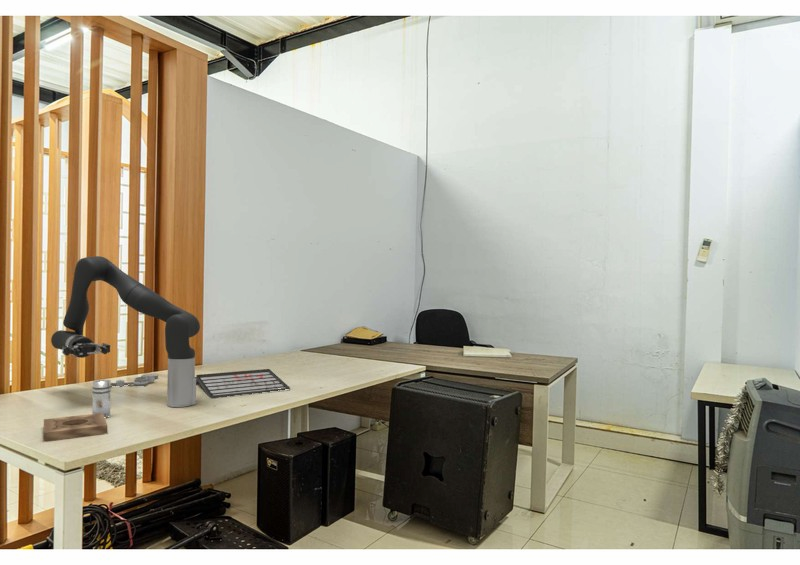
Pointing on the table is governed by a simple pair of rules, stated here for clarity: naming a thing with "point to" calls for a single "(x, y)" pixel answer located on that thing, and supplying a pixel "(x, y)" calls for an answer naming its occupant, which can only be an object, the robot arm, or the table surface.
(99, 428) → the ring block
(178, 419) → the table surface
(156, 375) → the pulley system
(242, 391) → the shutter
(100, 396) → the salt shaker
